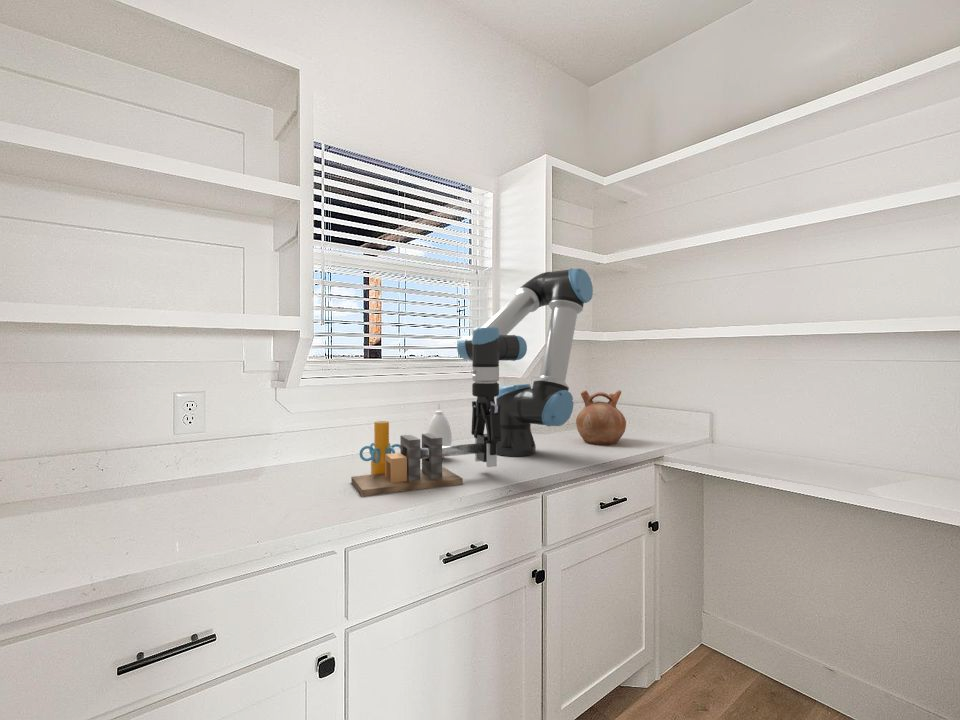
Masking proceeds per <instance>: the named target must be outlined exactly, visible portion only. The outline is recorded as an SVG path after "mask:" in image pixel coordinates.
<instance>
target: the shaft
mask: <svg viewBox="0 0 960 720" xmlns="http://www.w3.org/2000/svg"><path fill="white" fill-rule="evenodd" d="M487 441H488V436H487V433H484V434H477V443H476V444H475V443H465V444H454V445H453V444H451V446H442V457H443V458H445V457H454V456H465V455H475V454H477V459H478V460H480V461H479V462H483V463H487V443H486V442H487ZM425 458H429V448H422V447H420V460H422V459H425Z"/></svg>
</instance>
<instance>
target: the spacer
mask: <svg viewBox="0 0 960 720" xmlns="http://www.w3.org/2000/svg"><path fill="white" fill-rule="evenodd" d="M391 453H392V452H391ZM385 477H386V478H387V477H391V482H401V481H407V457H406V456H404V455H403V454H401V453H400V452H395V453H392V454H385Z"/></svg>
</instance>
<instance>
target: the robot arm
mask: <svg viewBox="0 0 960 720" xmlns="http://www.w3.org/2000/svg"><path fill="white" fill-rule="evenodd" d="M593 295H594V287H593V282H592V279H591V277H590V275H589V273H588V272H587V271H586V270H585V269H584V268H569V269H561V270H554V271H545V272H542V273H539V274H537V275H536V276H534V277H533V278H531V279H529V280H528V281H526V282H525V283H524V284H523V285H522V286H520V287H519V288H518V289H517V290H516V292H515V294H514V297H512V299H510V300H509V301H508V302H507V303H506V304H505V305H504V306H503V307H502V308H500V309H499V310H498V312H496V313H495V314H494V315H493V316H492V317H491V318H490V319H489V320H487V322H485V323H484V324H483V325H482V326H478V327H474V328H473V329H472V335H466V336H462V337H461V338H459V339H458V342H457V344H456V345H457V346H456V350H457V353H458V355H459V357H460V358H462V359H463V360H466V361H467V360H469V361H472V363H471V365H472V370H471V372H470V373H471V374H472V378H471V379H472V382H473V383H472V384H471V385H472V387H471V390H472V391H471V394H472V396H473V397H476V400H474V401H473V400H472V401H471V407H472V413H471V416H472V417H471V418H472V419H471V431H470V432H471V435H472V436H473V437H474V439H475V441H474V444H476V443H477V434H485V429H486V434H487V436H488V441H487V442H486V443H487V462H486V467H487V468H490V467H491V468H492V467H493V468H494V467H497V465H498V464H497V462H498V461H497V458H498V457H497V456H503V457H504V456H505V457H509V456H510V457H523V456H524V457H525V456H526V457H527V456H531V455H534V454H536V451H537V450H536V449H537V448H536V447H537V446H536V443H535V440H534V436H533V434H532V429H531V426H532V425H540V426H546V427H560V426H563V425H565V424H566V423H567V422H568V421H569V420H570V418H571V415H572V413H573V410H574V405H575V404H574V401H573V400H574V397H573V395H572V393H571V392H570V391H569V390H570V387H569V385H568V384H567V382H566V379H567V373H568V369H569V363H570V355H571V352H572V351H571V350H572V347H573V340H574V334H575V329H576V322H577V318H578V315H579V314H580V313H581V312H583V310H584V304H587V303H590V302H591V300H592V299H593ZM545 306H548V307H549V308H550V310H551V314H550V319H549V325H548V329H547V334H546V338H545V339H546V341H545V345H544V349H543V350H544V351H543V355H542V356H543V357H542V360H541V367H540V372H539V377H538V378H535V380H533V383H532V386H531V384H529V383H525V384H516V385H515V384H514V385H512V384H511V385H504V386H500V384H499V382H498V381H500V361H511V362H512V361H513V362H516V361H519V360H522V359H523V358H524V357H525V356H526V354H527V351H528V345H527V344H528V343H527V341H526V340H525V339H524V338H523V337H522V336H520V335H515V334H509V333H511V331H512V330H513V329H514V328H516V326H517V325H518V324H519V323H520V322H521V321H523V320H524V318H525V317H526V316H528V314H529V313H534V312H536V311H537V310H538V309H539V308H540V307H541V308H542V307H545ZM495 397H496V398H495ZM495 399H496V401H495ZM531 424H532V425H531ZM474 459H475V462H476V463H477V462H481V461H480V460H478V459H477V454H474Z"/></svg>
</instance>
